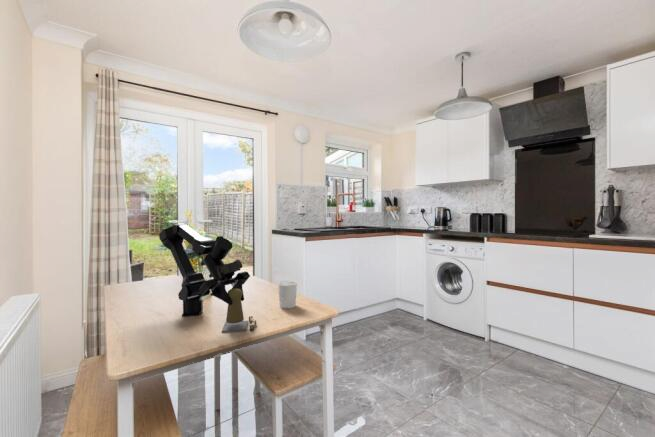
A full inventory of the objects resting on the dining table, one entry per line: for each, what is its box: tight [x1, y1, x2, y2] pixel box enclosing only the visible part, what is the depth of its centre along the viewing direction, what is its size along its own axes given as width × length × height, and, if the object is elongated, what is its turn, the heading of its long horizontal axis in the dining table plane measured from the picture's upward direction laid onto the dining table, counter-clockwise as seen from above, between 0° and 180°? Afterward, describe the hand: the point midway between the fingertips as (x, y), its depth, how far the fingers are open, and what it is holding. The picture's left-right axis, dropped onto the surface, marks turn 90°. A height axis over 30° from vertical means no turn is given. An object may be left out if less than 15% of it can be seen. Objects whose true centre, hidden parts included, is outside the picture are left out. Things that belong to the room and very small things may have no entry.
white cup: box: [277, 280, 298, 309], centre depth 130 cm, size 8×8×10 cm
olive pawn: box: [225, 288, 245, 323], centre depth 106 cm, size 6×6×11 cm
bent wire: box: [248, 315, 257, 332], centre depth 108 cm, size 3×10×2 cm, turn 11°
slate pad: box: [221, 320, 249, 334], centre depth 107 cm, size 8×8×1 cm
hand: (237, 302), depth 106 cm, fingers closed on olive pawn, 5 cm apart
